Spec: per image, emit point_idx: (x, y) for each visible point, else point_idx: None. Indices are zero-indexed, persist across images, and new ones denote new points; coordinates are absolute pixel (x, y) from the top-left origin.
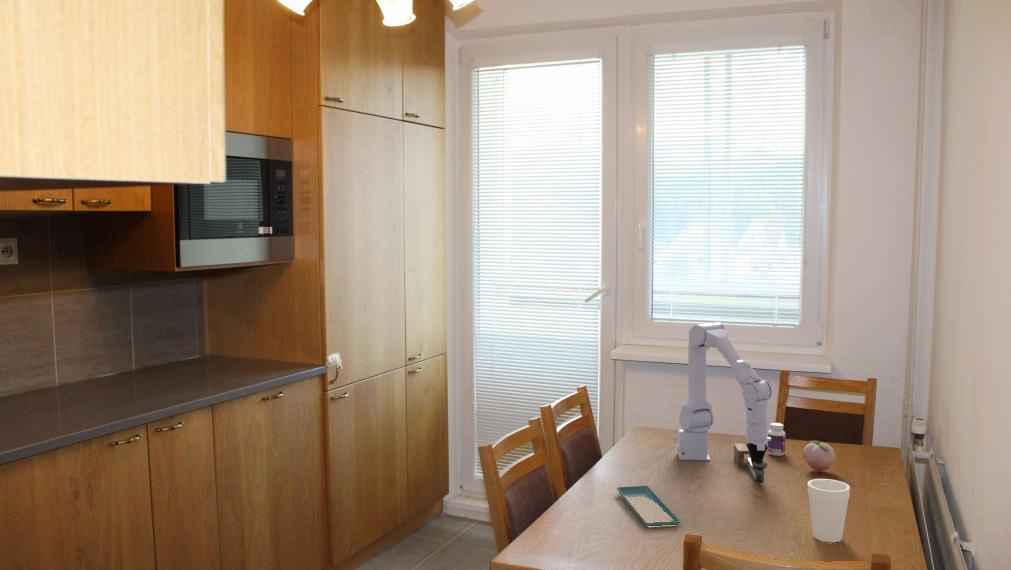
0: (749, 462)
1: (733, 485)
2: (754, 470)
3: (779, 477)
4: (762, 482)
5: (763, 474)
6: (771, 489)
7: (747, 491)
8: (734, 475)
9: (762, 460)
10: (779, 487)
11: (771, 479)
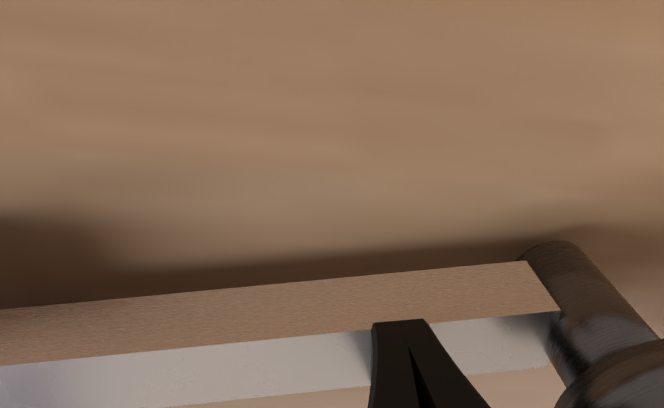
0: (171, 400)
1: (518, 401)
2: (489, 371)
3: (256, 38)
4: (586, 256)
5: (628, 303)
6: (654, 167)
7: (660, 332)
8: (279, 398)
9: (485, 401)
10: (612, 86)
11: (347, 137)
